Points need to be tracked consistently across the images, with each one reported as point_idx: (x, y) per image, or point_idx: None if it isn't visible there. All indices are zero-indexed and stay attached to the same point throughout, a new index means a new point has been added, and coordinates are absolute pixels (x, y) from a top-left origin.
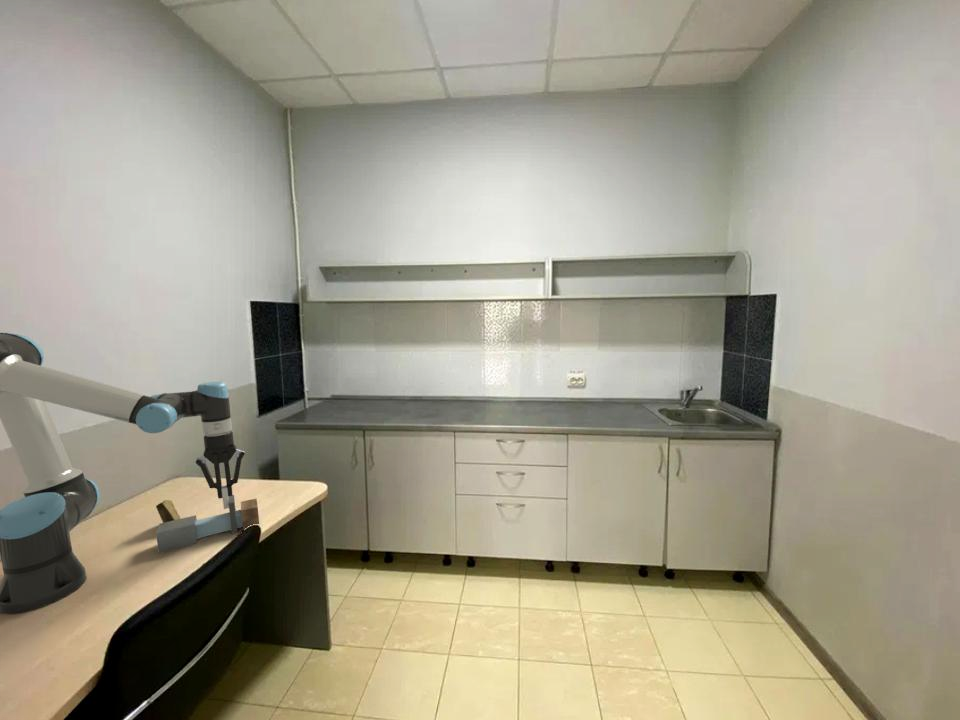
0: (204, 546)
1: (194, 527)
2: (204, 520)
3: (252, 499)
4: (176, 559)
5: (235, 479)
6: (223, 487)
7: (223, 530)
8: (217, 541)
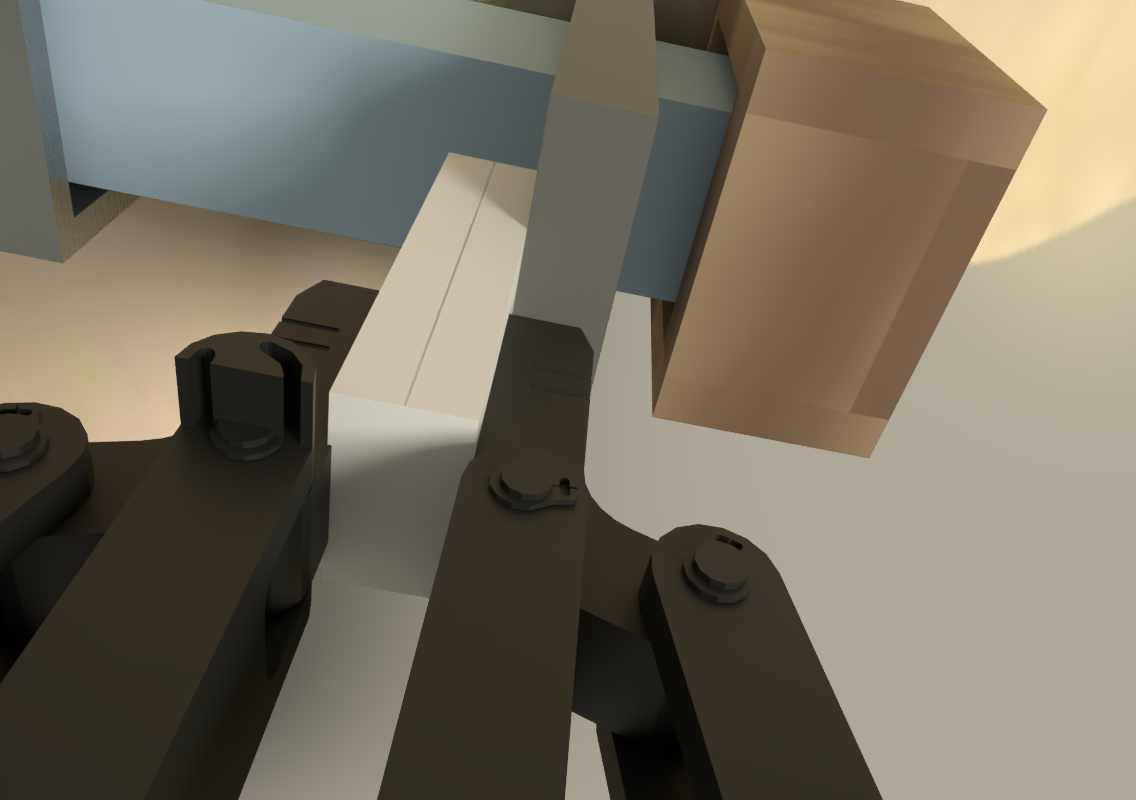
0: (274, 267)
1: (86, 241)
2: (186, 92)
3: (967, 109)
4: (60, 325)
5: (658, 788)
6: (371, 537)
7: None
8: (392, 258)
